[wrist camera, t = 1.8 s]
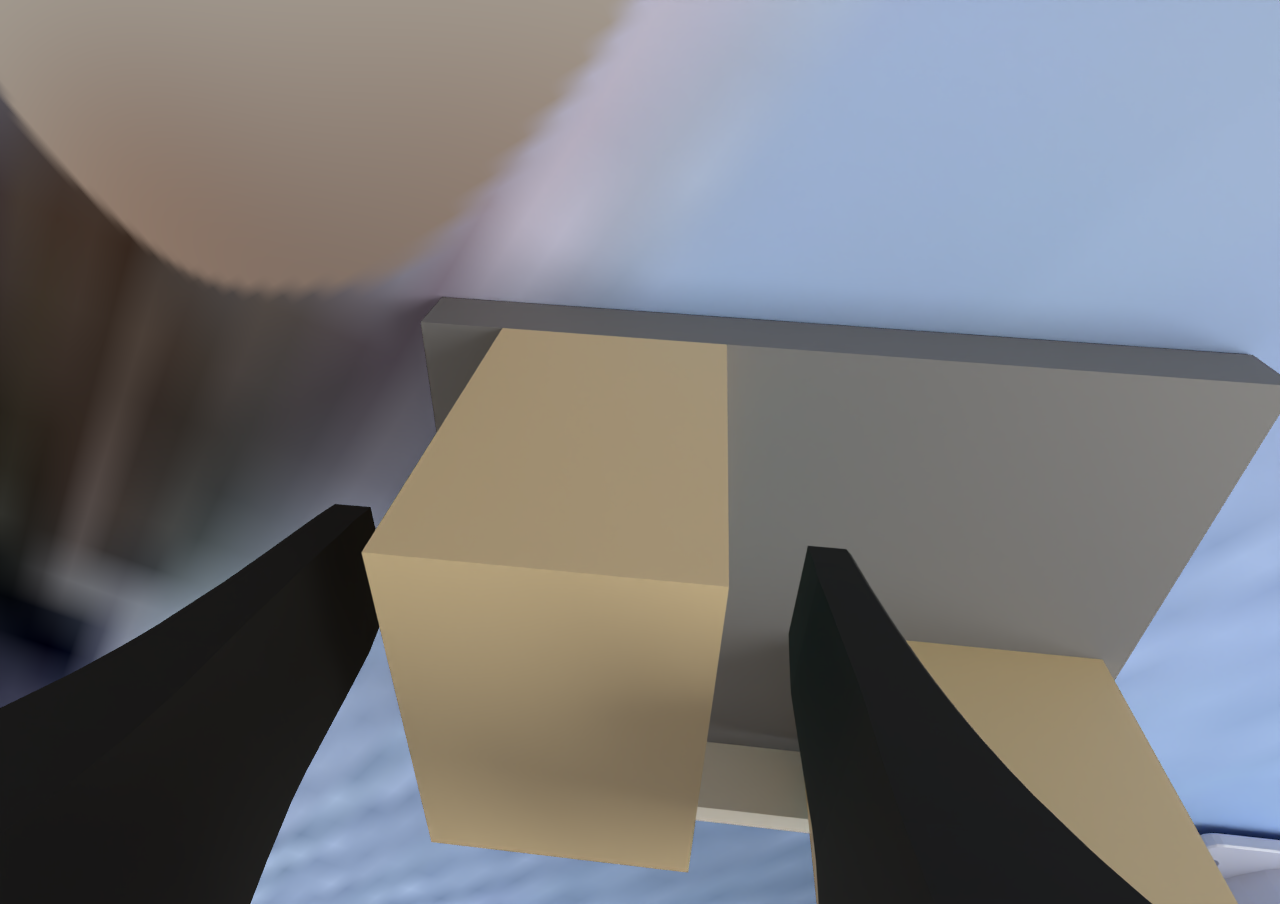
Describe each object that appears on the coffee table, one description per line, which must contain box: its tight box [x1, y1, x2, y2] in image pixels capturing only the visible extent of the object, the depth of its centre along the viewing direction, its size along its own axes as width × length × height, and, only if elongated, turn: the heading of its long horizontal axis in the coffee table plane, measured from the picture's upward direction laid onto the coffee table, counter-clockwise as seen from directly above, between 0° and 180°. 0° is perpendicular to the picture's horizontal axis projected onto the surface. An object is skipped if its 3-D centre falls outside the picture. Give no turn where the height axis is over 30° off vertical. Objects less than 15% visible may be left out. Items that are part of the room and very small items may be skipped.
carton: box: [362, 328, 729, 872], centre depth 12 cm, size 6×4×6 cm, turn 178°
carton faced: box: [804, 640, 1238, 904], centre depth 15 cm, size 6×4×6 cm, turn 88°
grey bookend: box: [421, 297, 1280, 833], centre depth 15 cm, size 12×15×3 cm
